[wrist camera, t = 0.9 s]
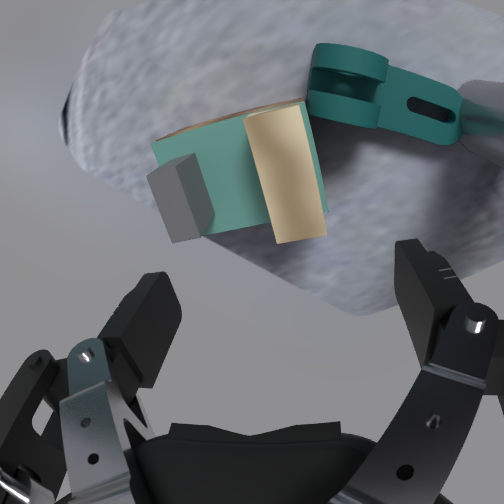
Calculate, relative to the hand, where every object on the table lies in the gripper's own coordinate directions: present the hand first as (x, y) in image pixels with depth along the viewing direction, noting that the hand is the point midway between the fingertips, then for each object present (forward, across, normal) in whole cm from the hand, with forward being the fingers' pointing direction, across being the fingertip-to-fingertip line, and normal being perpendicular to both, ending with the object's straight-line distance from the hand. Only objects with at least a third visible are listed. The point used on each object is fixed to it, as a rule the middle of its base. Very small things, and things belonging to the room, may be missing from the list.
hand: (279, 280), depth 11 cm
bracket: (+26, -12, -4) cm, 29 cm away
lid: (+19, +4, 0) cm, 20 cm away
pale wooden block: (+18, 0, 0) cm, 18 cm away
